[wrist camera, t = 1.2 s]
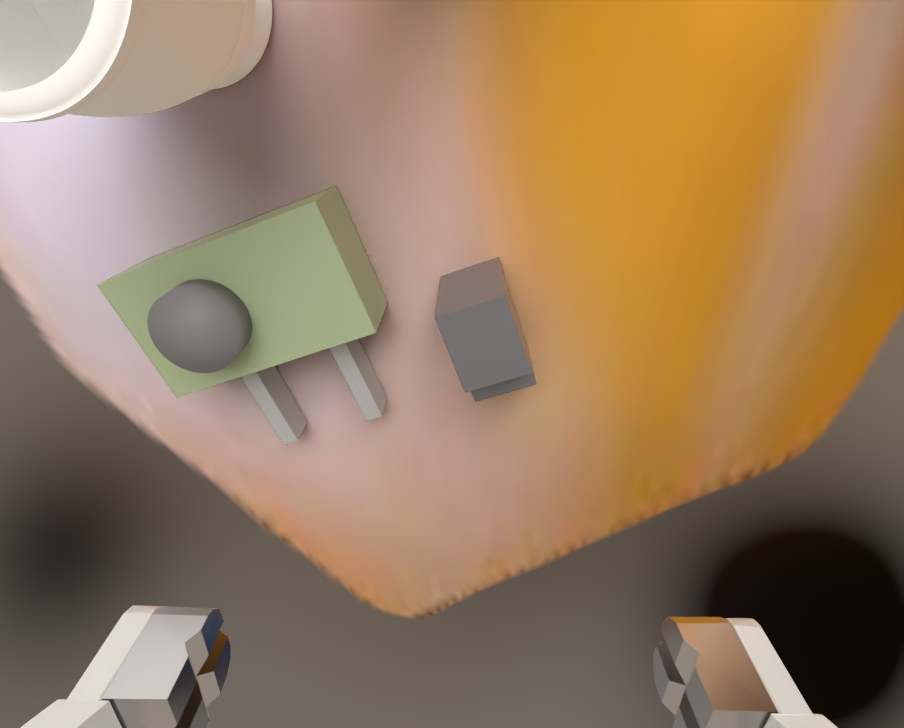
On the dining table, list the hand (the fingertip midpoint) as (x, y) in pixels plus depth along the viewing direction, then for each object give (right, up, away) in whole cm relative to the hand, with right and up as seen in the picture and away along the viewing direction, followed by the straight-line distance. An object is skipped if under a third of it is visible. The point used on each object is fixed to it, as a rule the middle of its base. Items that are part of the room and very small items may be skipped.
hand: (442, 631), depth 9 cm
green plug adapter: (-11, +8, +26) cm, 29 cm away
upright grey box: (+2, +8, +25) cm, 27 cm away
